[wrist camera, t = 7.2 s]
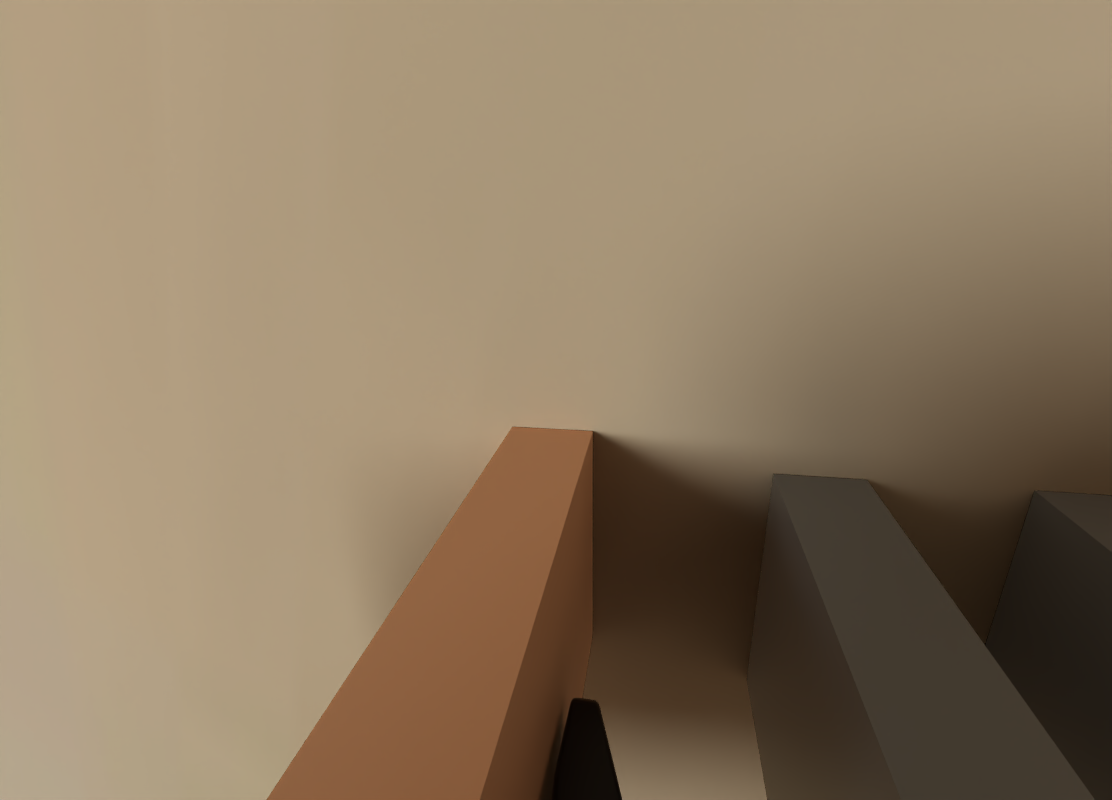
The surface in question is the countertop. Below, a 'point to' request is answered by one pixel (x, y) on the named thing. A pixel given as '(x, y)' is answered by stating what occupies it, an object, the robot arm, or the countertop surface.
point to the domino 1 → (473, 646)
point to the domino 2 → (879, 667)
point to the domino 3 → (1063, 628)
